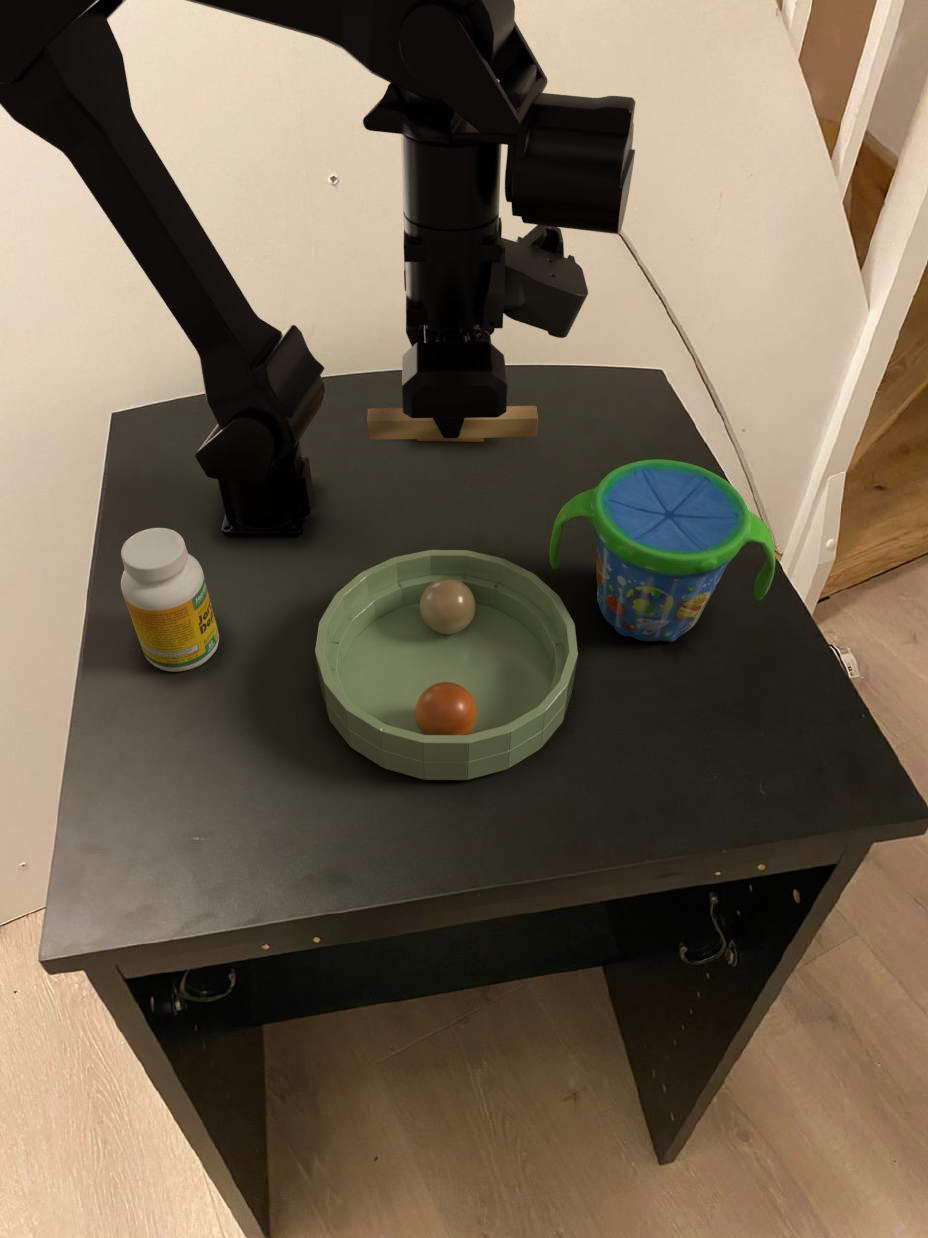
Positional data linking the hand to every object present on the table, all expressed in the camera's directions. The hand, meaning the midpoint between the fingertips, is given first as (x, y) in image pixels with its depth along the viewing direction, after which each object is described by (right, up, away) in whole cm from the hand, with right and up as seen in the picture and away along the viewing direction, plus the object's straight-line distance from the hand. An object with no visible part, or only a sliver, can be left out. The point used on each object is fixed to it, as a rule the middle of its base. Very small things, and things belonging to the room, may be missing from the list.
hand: (450, 429), depth 67 cm
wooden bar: (0, 0, 0) cm, 0 cm away
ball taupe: (0, -13, 0) cm, 13 cm away
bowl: (0, -18, -2) cm, 18 cm away
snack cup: (+15, -13, +3) cm, 20 cm away
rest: (0, +4, +19) cm, 19 cm away
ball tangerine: (0, -20, -7) cm, 21 cm away
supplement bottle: (-19, -16, 0) cm, 25 cm away
